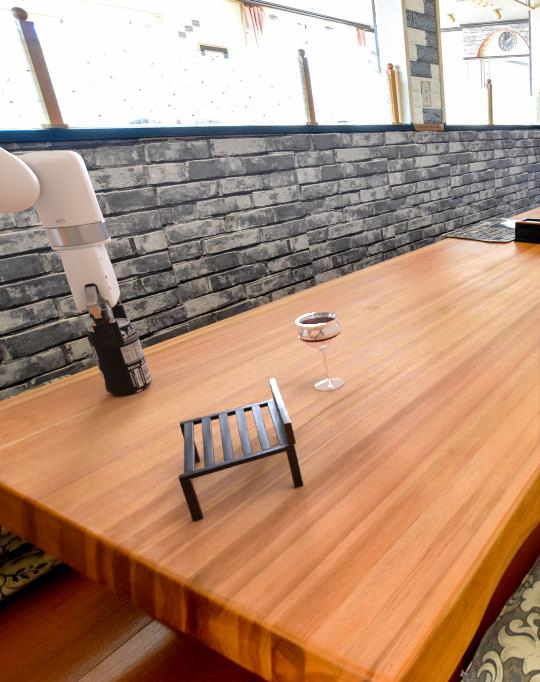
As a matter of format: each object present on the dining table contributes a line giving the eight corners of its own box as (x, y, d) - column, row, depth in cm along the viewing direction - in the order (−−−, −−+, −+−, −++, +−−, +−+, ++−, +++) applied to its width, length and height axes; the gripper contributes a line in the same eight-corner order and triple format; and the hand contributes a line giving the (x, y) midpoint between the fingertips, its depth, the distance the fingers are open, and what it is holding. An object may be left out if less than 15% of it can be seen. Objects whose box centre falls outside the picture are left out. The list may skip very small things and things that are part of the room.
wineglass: (358, 378, 93) (347, 313, 88) (332, 395, 87) (319, 327, 82) (327, 373, 95) (315, 310, 91) (300, 389, 89) (286, 323, 85)
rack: (193, 521, 60) (170, 455, 56) (191, 460, 71) (173, 401, 68) (305, 485, 65) (291, 422, 62) (287, 433, 77) (274, 377, 73)
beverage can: (106, 388, 93) (82, 324, 88) (150, 376, 96) (129, 314, 92) (110, 401, 88) (85, 334, 83) (155, 388, 92) (134, 324, 87)
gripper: (59, 230, 87) (96, 326, 94) (35, 249, 73) (81, 360, 80) (113, 224, 91) (145, 317, 97) (101, 241, 77) (139, 348, 84)
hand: (116, 336), depth 89 cm, fingers open, 9 cm apart
